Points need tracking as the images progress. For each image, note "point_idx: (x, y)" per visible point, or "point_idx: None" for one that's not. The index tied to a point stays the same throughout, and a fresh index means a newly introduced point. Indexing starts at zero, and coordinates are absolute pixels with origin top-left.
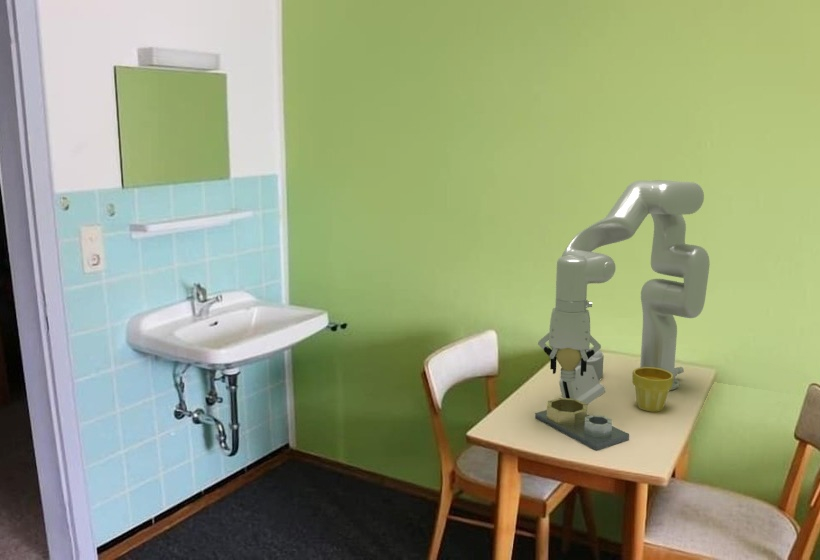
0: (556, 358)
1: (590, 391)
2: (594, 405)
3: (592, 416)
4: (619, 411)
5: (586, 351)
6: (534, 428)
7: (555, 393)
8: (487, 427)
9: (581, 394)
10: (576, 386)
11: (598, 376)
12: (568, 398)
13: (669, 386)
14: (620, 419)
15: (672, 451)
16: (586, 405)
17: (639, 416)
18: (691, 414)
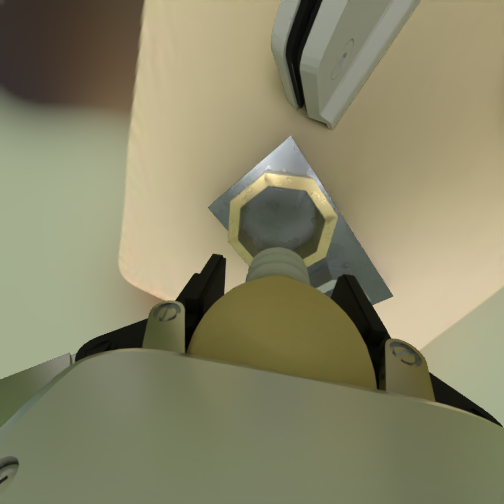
0: (207, 300)
1: None
2: (386, 85)
3: (329, 287)
4: (448, 131)
5: (428, 396)
6: (213, 250)
7: None
8: (132, 250)
9: (357, 52)
10: (344, 51)
11: None
12: (291, 177)
13: None
14: (420, 192)
15: (448, 325)
16: (333, 225)
17: (490, 165)
18: None
